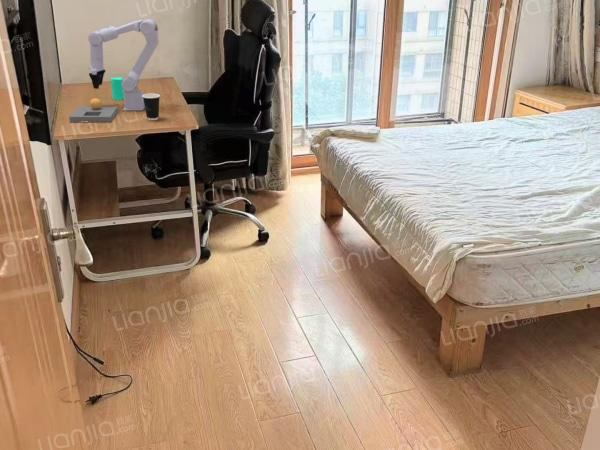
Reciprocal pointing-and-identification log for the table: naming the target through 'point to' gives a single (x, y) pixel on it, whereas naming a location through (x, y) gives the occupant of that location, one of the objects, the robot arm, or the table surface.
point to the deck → (94, 114)
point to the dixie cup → (151, 105)
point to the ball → (95, 103)
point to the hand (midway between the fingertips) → (97, 86)
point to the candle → (117, 88)
